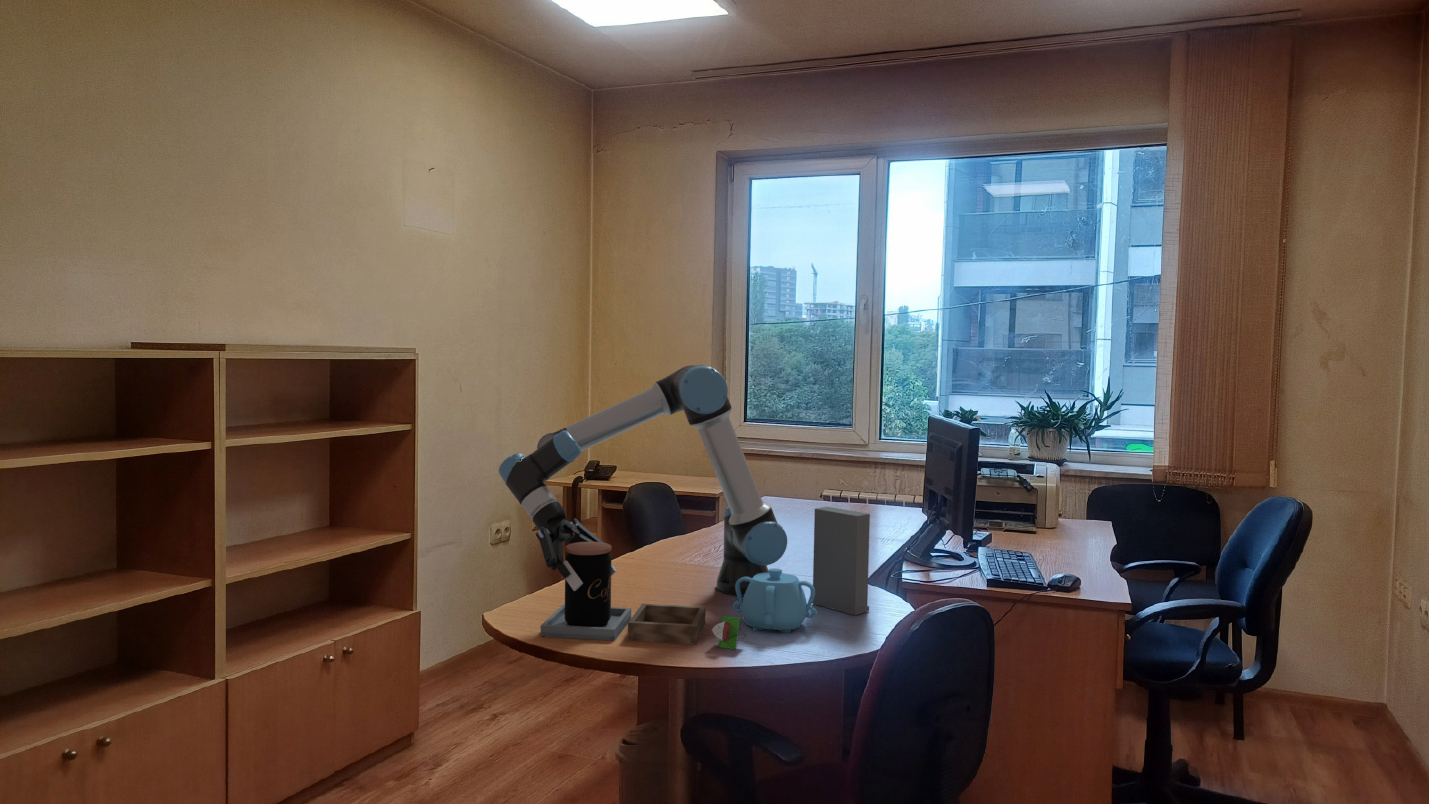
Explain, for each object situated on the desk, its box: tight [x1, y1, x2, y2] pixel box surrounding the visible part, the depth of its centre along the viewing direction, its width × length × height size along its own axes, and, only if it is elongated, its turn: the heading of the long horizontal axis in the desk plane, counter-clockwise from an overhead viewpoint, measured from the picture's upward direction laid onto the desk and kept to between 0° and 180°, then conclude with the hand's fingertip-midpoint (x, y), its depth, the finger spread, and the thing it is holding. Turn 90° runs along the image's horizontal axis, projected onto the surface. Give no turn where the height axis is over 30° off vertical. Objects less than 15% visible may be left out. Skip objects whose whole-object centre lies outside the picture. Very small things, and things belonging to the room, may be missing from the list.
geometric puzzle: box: [710, 615, 747, 651], centre depth 189 cm, size 7×7×8 cm
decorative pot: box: [732, 567, 818, 634], centre depth 205 cm, size 16×16×14 cm
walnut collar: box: [627, 603, 707, 645], centre depth 199 cm, size 15×15×4 cm
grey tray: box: [540, 604, 632, 642], centre depth 201 cm, size 17×17×2 cm
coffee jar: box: [564, 541, 612, 627], centre depth 201 cm, size 11×11×18 cm
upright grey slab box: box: [811, 506, 871, 616], centre depth 220 cm, size 14×6×25 cm, turn 44°
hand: (596, 580), depth 200 cm, fingers open, 13 cm apart
